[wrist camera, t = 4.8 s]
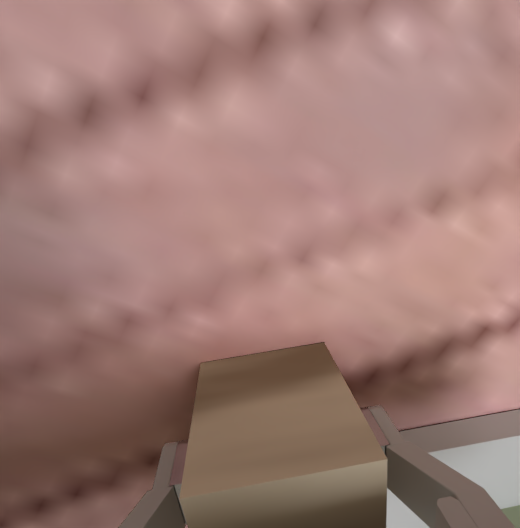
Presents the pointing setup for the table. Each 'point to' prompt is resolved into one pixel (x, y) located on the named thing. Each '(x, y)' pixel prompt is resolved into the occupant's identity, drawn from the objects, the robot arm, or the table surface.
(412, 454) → the robot arm
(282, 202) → the table surface
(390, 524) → the build plate
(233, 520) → the beech block
